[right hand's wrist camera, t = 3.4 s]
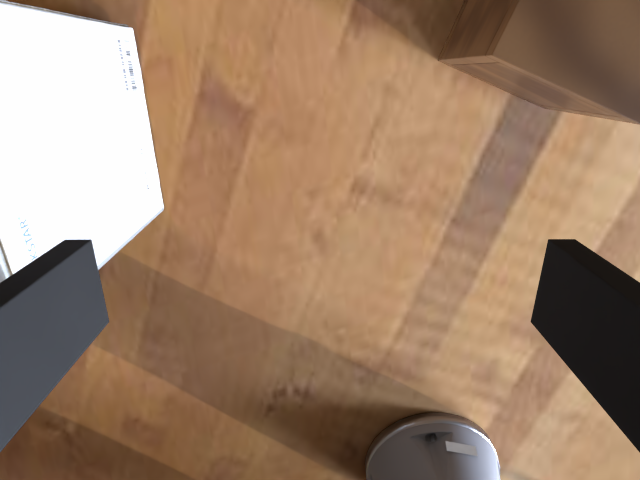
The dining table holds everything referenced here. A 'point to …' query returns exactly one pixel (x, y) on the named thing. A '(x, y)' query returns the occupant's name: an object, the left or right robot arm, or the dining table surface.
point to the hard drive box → (71, 136)
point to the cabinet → (554, 52)
